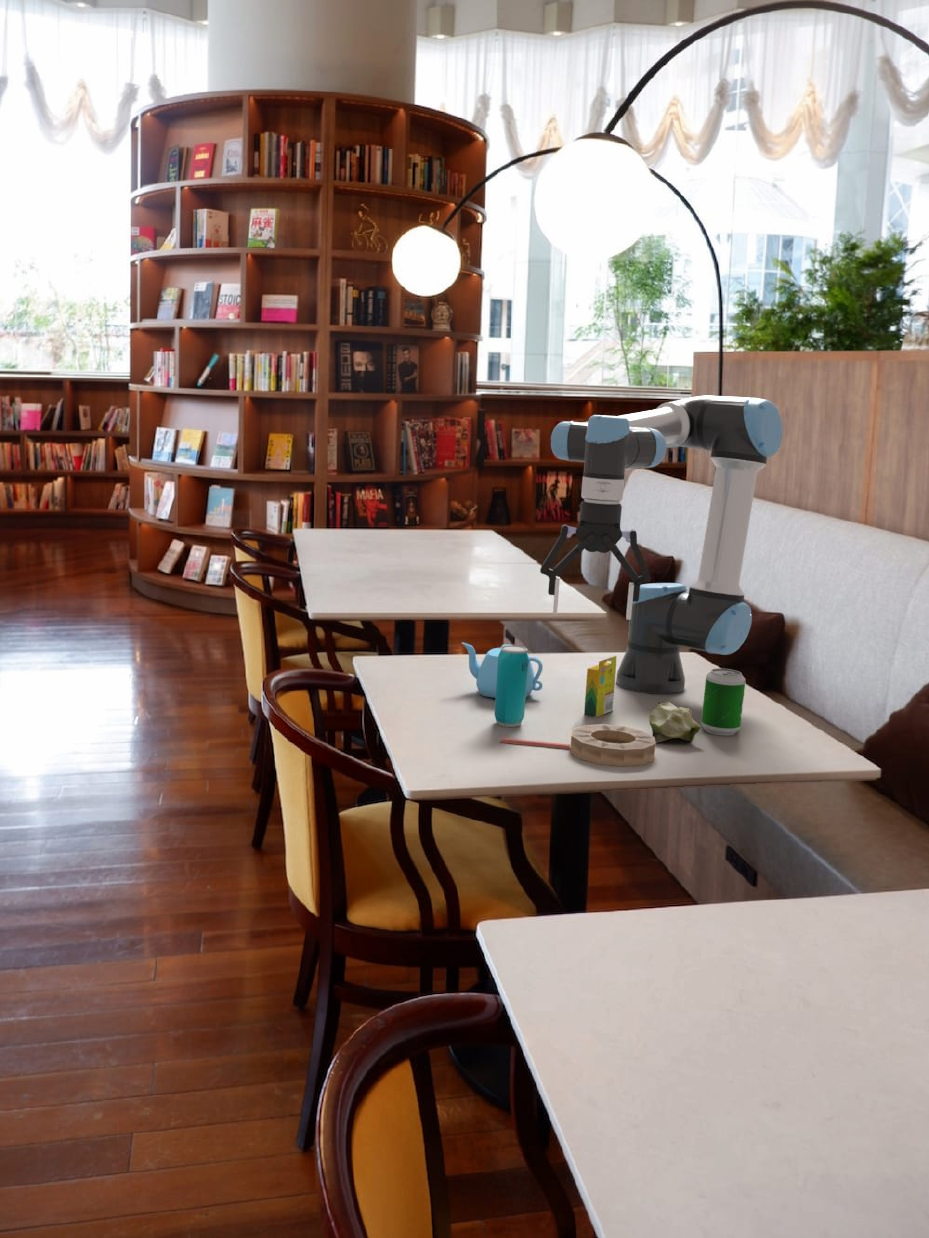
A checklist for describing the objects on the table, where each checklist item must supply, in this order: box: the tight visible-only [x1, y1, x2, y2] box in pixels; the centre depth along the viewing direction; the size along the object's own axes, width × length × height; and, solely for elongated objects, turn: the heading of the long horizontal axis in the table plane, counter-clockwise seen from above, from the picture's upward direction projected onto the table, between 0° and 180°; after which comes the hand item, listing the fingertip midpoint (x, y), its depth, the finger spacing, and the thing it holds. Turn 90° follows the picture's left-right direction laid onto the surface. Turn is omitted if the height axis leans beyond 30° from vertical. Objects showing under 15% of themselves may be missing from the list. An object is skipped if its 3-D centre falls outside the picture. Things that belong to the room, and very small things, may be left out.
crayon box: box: [583, 655, 617, 719], centre depth 241 cm, size 7×3×12 cm, turn 145°
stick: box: [500, 737, 571, 750], centre depth 218 cm, size 1×13×1 cm, turn 83°
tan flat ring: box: [569, 723, 656, 767], centre depth 216 cm, size 15×15×3 cm
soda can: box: [701, 667, 746, 737], centre depth 233 cm, size 8×8×12 cm
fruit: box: [648, 701, 702, 745], centre depth 226 cm, size 9×9×8 cm
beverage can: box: [494, 644, 529, 728], centre depth 229 cm, size 6×6×15 cm
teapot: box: [461, 641, 543, 699], centre depth 251 cm, size 13×11×18 cm
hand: (591, 615), depth 221 cm, fingers open, 13 cm apart
